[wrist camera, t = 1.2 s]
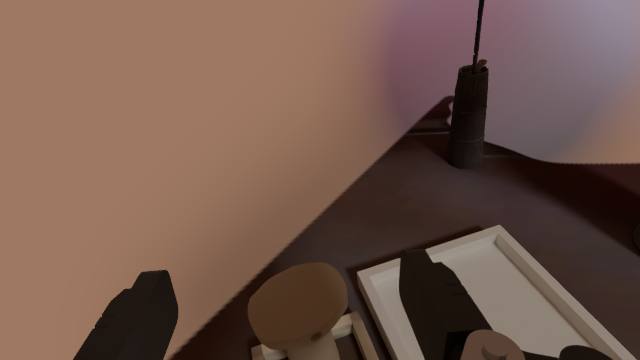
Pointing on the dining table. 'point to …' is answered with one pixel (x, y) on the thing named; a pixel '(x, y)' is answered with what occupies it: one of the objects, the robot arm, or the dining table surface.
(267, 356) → the wooden square frame
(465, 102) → the butter churn
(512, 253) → the tray
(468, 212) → the dining table surface
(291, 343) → the handle
